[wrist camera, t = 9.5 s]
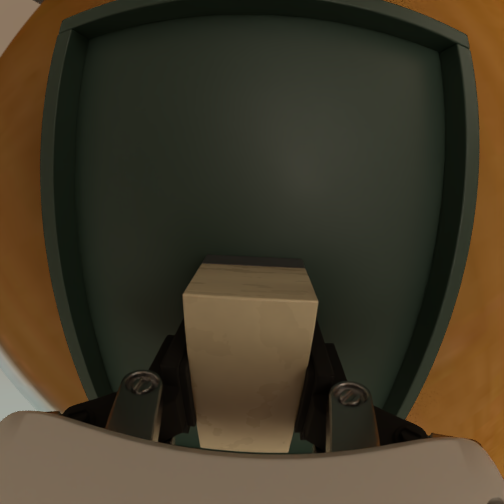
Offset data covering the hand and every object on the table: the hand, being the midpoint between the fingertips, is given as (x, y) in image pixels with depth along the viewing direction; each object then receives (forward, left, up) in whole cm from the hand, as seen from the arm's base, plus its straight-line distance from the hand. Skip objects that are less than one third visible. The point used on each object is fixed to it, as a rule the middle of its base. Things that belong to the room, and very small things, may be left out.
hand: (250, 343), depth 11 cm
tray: (-2, 0, -1) cm, 2 cm away
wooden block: (0, 0, 0) cm, 0 cm away
